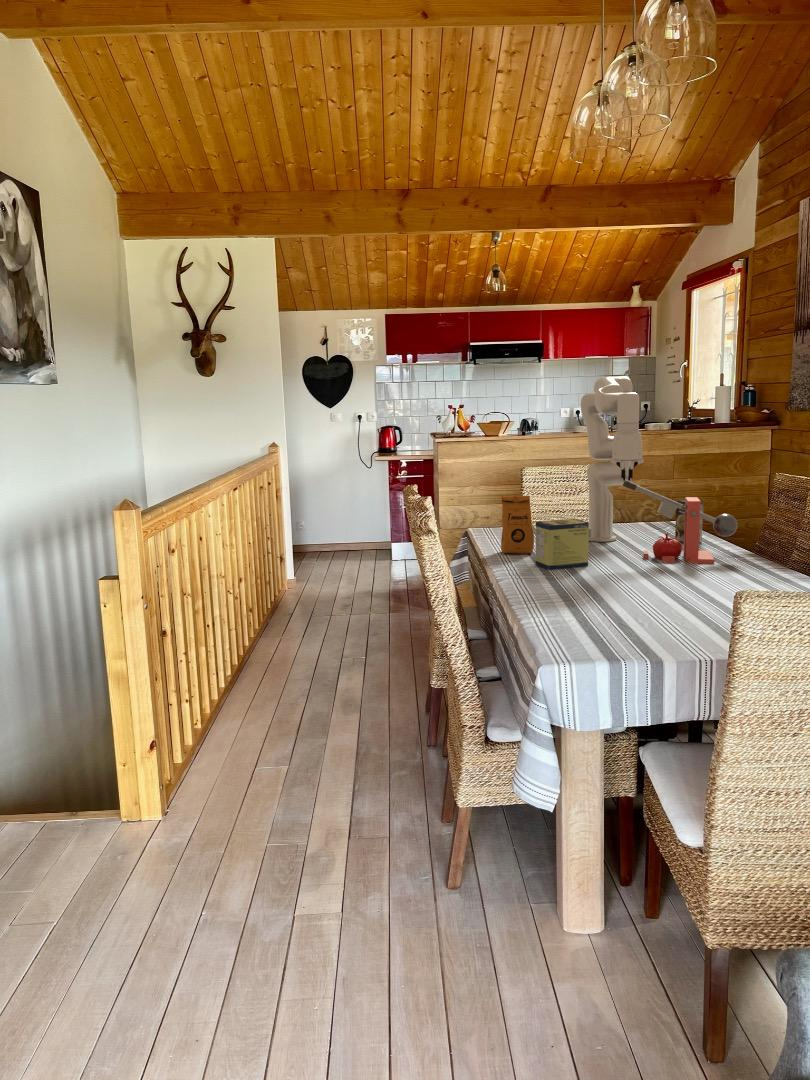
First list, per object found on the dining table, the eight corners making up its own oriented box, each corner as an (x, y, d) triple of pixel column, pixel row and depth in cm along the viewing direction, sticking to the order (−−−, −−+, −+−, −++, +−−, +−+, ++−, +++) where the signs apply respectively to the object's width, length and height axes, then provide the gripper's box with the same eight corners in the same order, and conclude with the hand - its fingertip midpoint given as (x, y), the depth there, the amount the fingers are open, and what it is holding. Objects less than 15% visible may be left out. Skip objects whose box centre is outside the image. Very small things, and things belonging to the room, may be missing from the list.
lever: (617, 496, 279) (629, 473, 276) (618, 493, 286) (628, 471, 284) (731, 544, 272) (743, 521, 269) (728, 540, 279) (740, 517, 277)
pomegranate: (676, 562, 275) (677, 536, 273) (648, 559, 281) (649, 534, 279) (685, 557, 283) (686, 531, 281) (658, 554, 289) (658, 529, 287)
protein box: (589, 566, 273) (589, 521, 270) (548, 570, 268) (548, 525, 265) (573, 560, 282) (574, 518, 280) (534, 564, 278) (534, 521, 275)
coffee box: (674, 539, 317) (675, 500, 314) (687, 538, 319) (689, 499, 316) (688, 543, 308) (690, 502, 306) (702, 542, 310) (704, 501, 307)
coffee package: (534, 555, 294) (534, 496, 290) (500, 555, 296) (500, 497, 292) (533, 550, 304) (533, 493, 300) (501, 550, 306) (500, 494, 302)
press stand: (644, 562, 276) (645, 501, 273) (643, 553, 292) (644, 496, 288) (714, 563, 270) (716, 502, 267) (709, 554, 286) (711, 496, 282)
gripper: (604, 429, 277) (604, 481, 279) (650, 428, 272) (649, 481, 275) (605, 428, 284) (604, 479, 286) (650, 427, 279) (649, 479, 282)
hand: (626, 480), depth 281 cm, fingers closed
